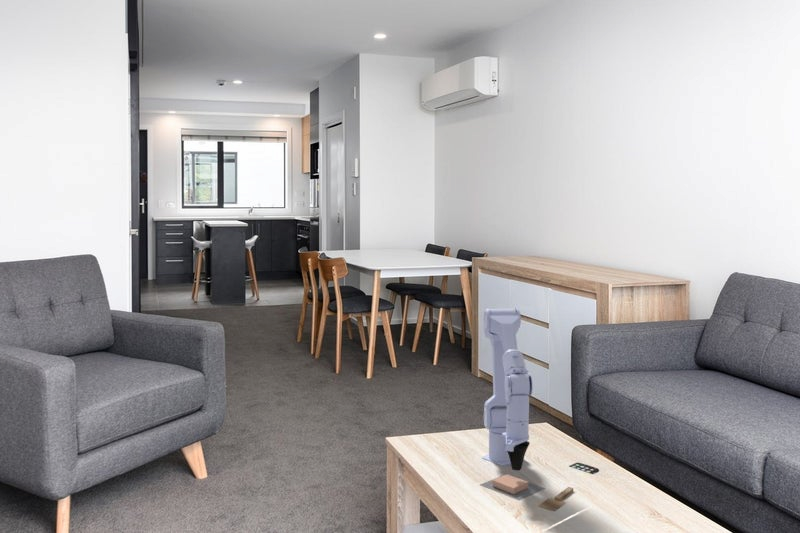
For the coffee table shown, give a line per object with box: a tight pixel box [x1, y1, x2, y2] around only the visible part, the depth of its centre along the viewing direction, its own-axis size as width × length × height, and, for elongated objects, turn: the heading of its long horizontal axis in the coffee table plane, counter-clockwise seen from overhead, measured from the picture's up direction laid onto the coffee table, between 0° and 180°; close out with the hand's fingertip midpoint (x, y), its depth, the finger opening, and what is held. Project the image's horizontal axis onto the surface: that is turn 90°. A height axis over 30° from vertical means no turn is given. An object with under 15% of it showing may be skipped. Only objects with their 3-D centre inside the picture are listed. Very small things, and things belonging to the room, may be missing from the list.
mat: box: [479, 473, 546, 501], centre depth 187 cm, size 11×13×1 cm
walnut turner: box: [537, 486, 574, 512], centre depth 179 cm, size 14×4×1 cm, turn 142°
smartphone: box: [568, 462, 600, 475], centre depth 197 cm, size 7×1×15 cm
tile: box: [492, 473, 529, 494], centre depth 186 cm, size 2×7×6 cm
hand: (516, 469), depth 187 cm, fingers closed
